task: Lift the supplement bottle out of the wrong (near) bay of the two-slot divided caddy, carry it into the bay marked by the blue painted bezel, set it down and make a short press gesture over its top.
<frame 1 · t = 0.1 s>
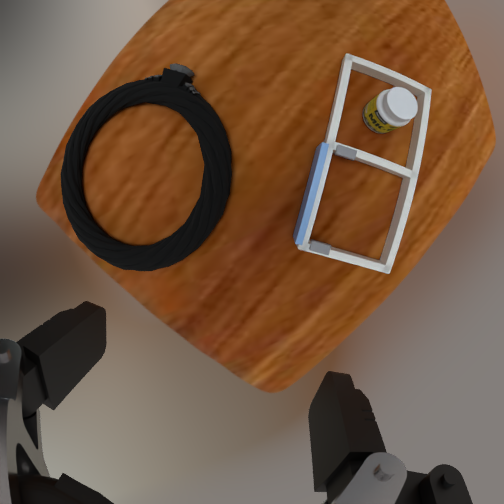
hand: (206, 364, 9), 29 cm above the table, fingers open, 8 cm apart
cable lock: (143, 165, 37), on the table
supplement bottle: (377, 118, 32), resting in two-slot divided caddy
two-slot divided caddy: (368, 161, 34), on the table
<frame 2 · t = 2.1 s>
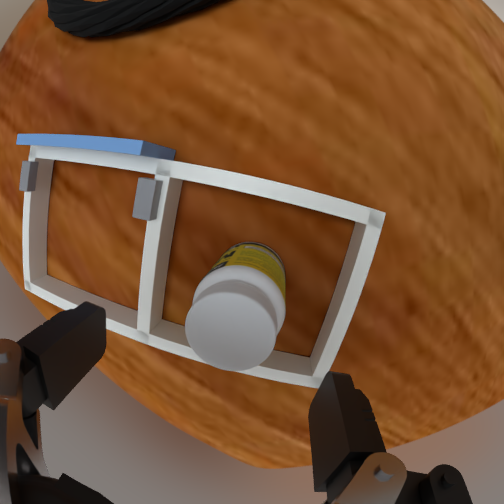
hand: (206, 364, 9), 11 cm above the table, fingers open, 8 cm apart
supplement bottle: (251, 273, 20), resting in two-slot divided caddy
two-slot divided caddy: (163, 251, 20), on the table
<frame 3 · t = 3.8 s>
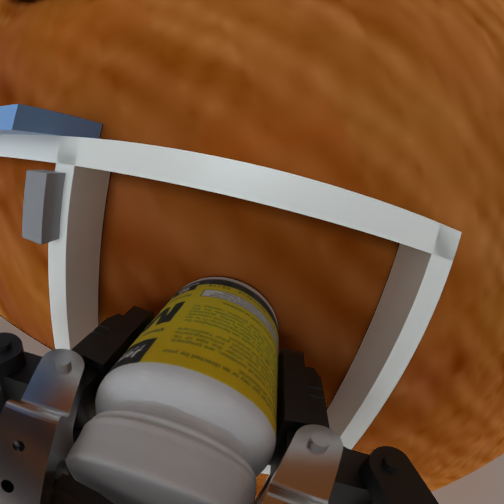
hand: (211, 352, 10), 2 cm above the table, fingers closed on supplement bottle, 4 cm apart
supplement bottle: (222, 326, 12), resting in two-slot divided caddy, touching gripper
two-slot divided caddy: (90, 285, 12), on the table
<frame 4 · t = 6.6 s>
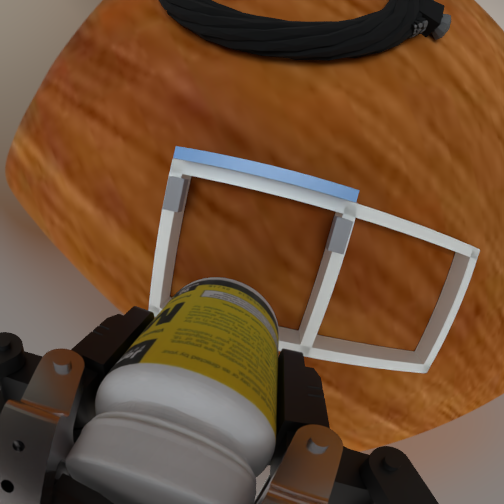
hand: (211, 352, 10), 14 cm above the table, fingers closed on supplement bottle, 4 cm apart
supplement bottle: (222, 326, 12), point 12 cm above the table, touching gripper
two-slot divided caddy: (322, 275, 23), on the table
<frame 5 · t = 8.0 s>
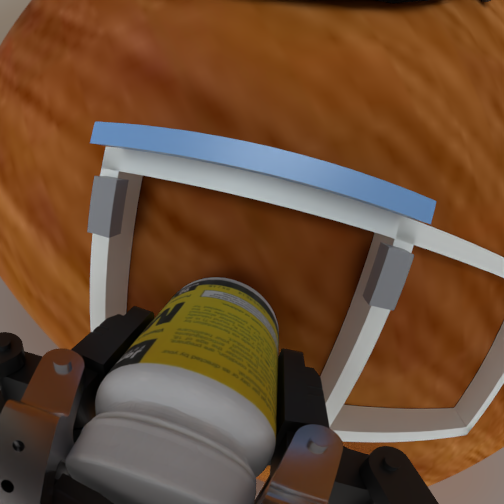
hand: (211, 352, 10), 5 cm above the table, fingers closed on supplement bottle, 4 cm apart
supplement bottle: (222, 326, 12), point 3 cm above the table, touching gripper
two-slot divided caddy: (349, 329, 14), on the table
when the fingers open (3 cm above the table, at t = 9.3 s): supplement bottle stays where it is, resting in two-slot divided caddy.
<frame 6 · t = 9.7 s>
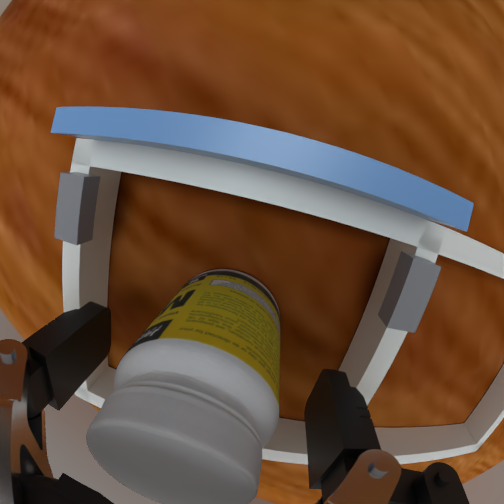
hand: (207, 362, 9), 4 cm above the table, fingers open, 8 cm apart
supplement bottle: (227, 315, 13), resting in two-slot divided caddy
two-slot divided caddy: (358, 347, 12), on the table
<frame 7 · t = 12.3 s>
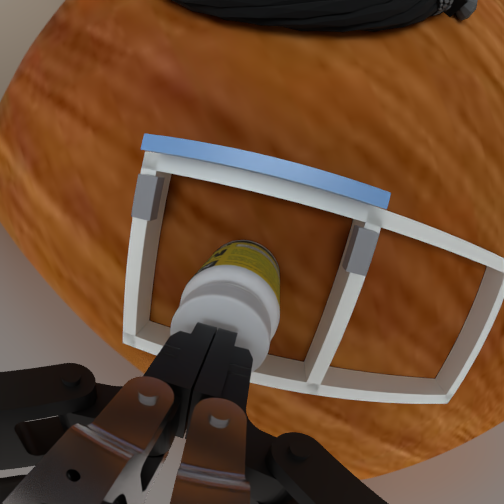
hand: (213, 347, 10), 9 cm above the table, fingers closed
supplement bottle: (243, 273, 19), resting in two-slot divided caddy
two-slot divided caddy: (335, 298, 18), on the table
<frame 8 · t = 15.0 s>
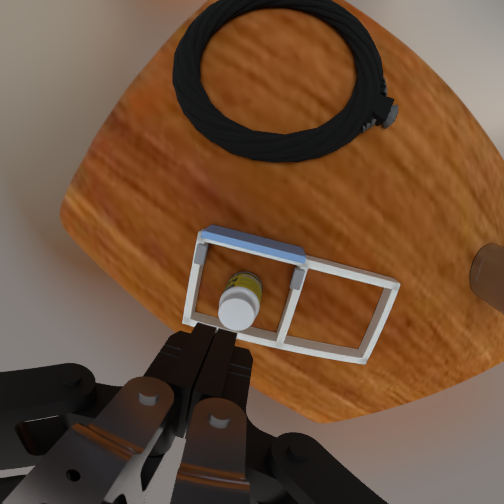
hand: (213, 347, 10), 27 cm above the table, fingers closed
cable lock: (286, 70, 31), on the table
supplement bottle: (245, 287, 38), resting in two-slot divided caddy
two-slot divided caddy: (290, 299, 38), on the table
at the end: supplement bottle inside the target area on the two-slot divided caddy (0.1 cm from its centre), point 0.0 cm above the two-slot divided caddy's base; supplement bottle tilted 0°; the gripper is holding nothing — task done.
